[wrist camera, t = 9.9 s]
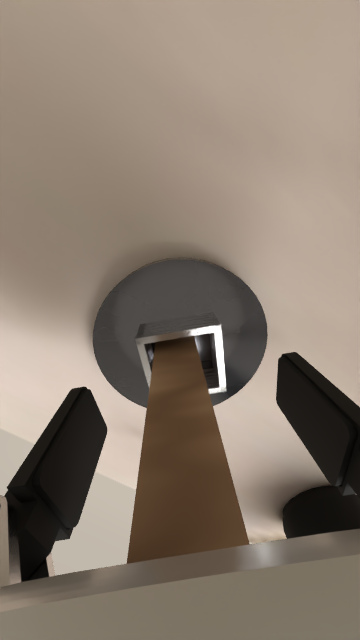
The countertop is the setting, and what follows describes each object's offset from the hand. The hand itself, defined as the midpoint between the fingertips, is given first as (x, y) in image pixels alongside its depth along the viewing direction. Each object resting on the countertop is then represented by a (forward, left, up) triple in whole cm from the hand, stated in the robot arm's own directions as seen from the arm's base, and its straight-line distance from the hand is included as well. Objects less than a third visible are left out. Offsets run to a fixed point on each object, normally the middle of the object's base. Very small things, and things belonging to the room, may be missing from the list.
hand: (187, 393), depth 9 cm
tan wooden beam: (0, 0, -4) cm, 4 cm away
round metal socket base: (0, 0, -5) cm, 5 cm away
